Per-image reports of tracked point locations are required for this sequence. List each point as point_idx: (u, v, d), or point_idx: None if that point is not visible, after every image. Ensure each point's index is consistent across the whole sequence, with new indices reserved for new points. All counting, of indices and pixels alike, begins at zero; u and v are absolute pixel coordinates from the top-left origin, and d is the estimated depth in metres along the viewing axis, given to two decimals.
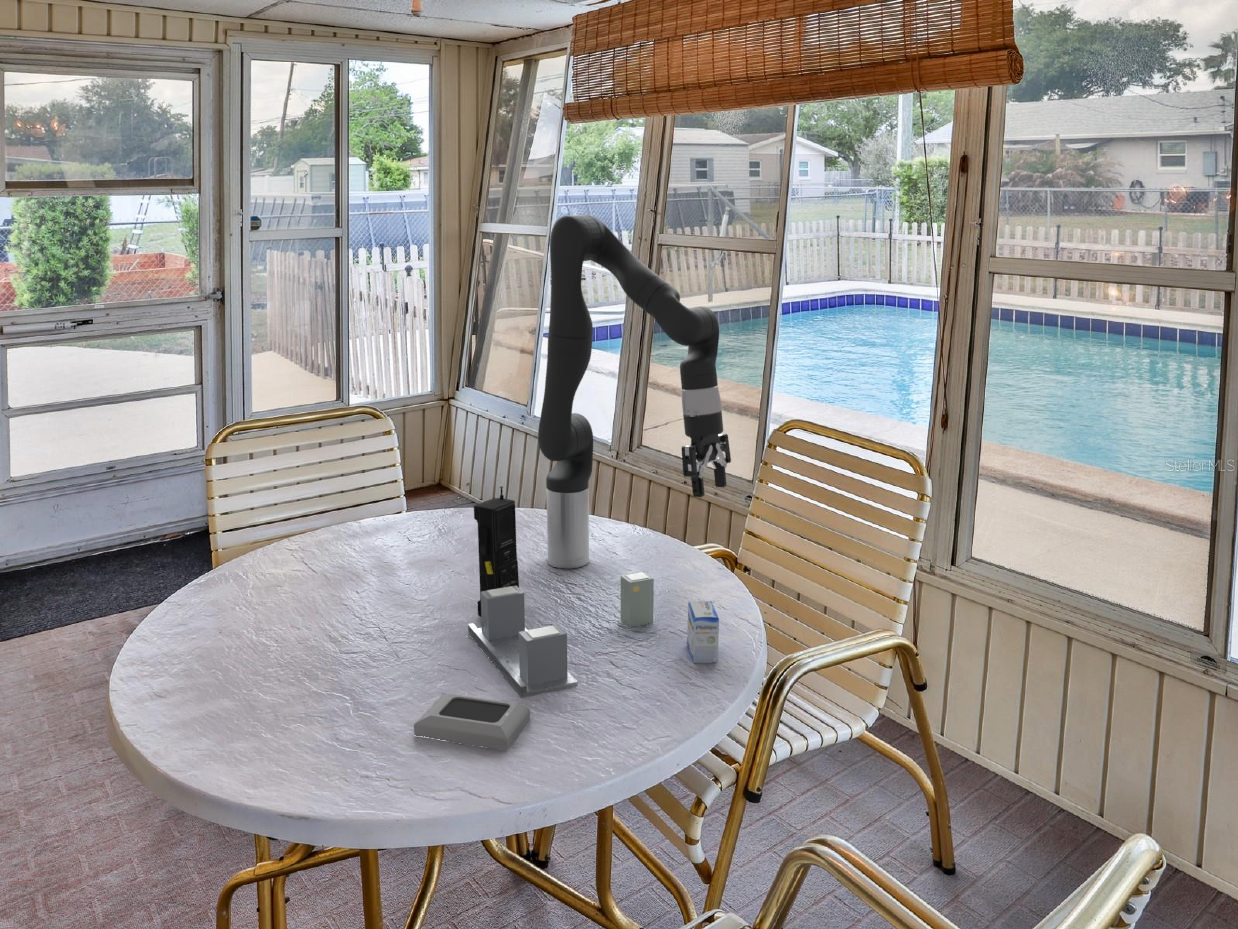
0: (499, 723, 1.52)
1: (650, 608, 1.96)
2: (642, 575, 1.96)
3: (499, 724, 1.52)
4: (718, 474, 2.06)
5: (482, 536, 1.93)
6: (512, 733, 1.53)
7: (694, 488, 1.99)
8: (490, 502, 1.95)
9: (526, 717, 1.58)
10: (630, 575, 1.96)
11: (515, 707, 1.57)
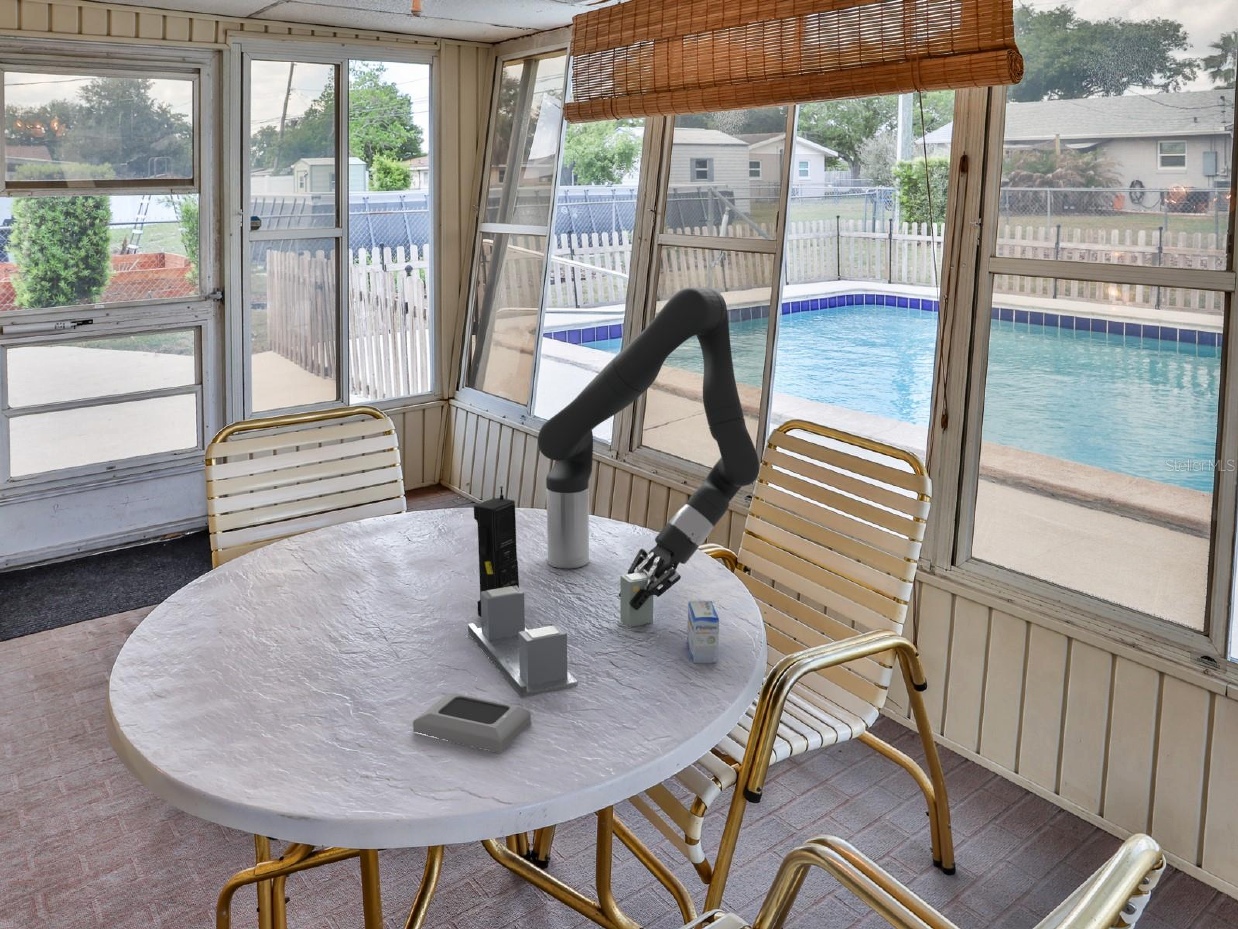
0: (495, 725, 1.52)
1: (650, 608, 1.96)
2: (642, 575, 1.96)
3: (494, 725, 1.52)
4: None
5: (482, 536, 1.93)
6: (507, 735, 1.52)
7: (640, 601, 1.93)
8: (490, 502, 1.95)
9: (525, 720, 1.57)
10: (630, 575, 1.96)
11: (514, 710, 1.56)
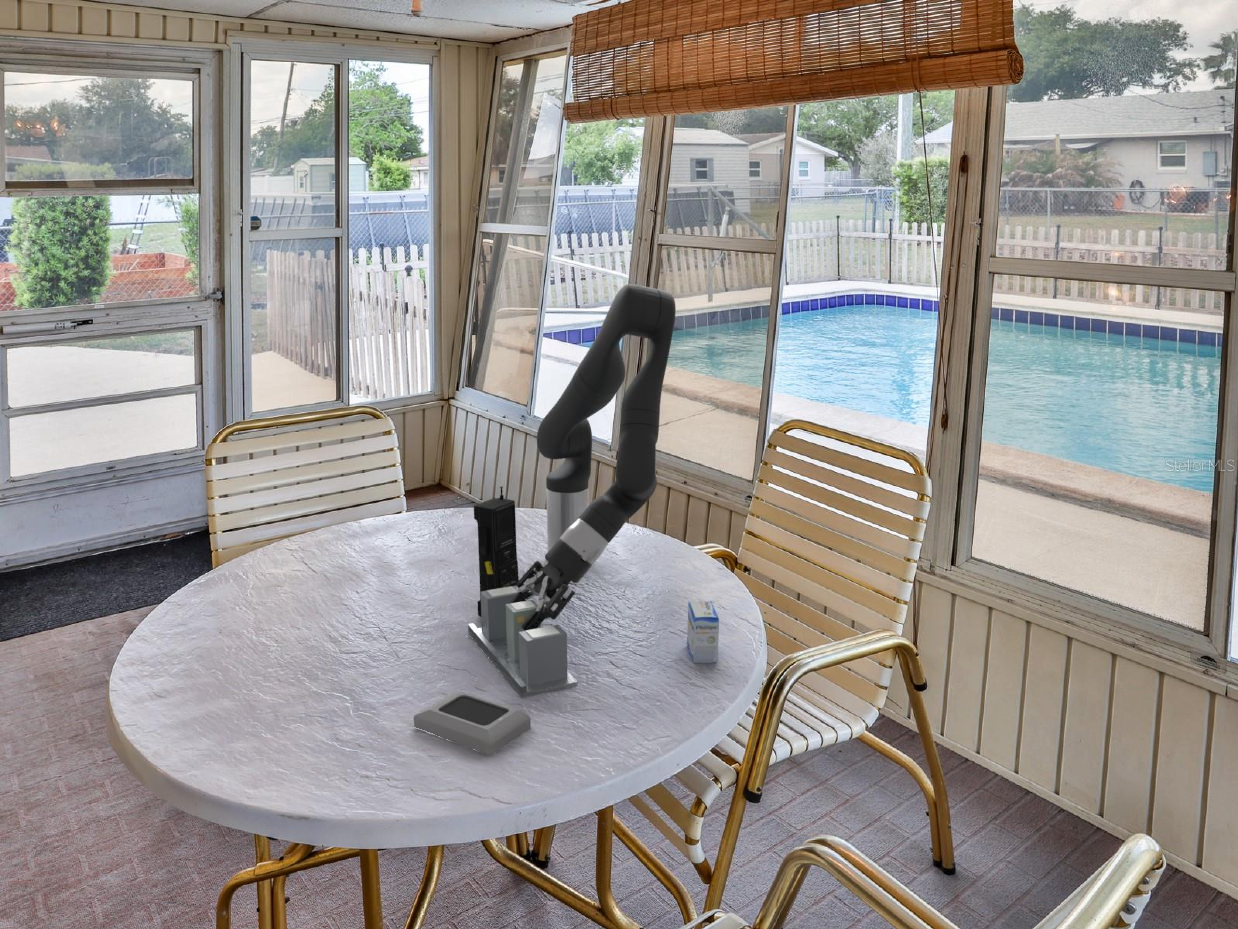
0: (488, 727, 1.51)
1: None
2: (529, 604, 1.79)
3: (487, 727, 1.51)
4: None
5: (482, 536, 1.93)
6: (499, 738, 1.51)
7: (534, 624, 1.75)
8: (490, 502, 1.95)
9: (523, 725, 1.56)
10: (516, 604, 1.79)
11: (512, 713, 1.55)
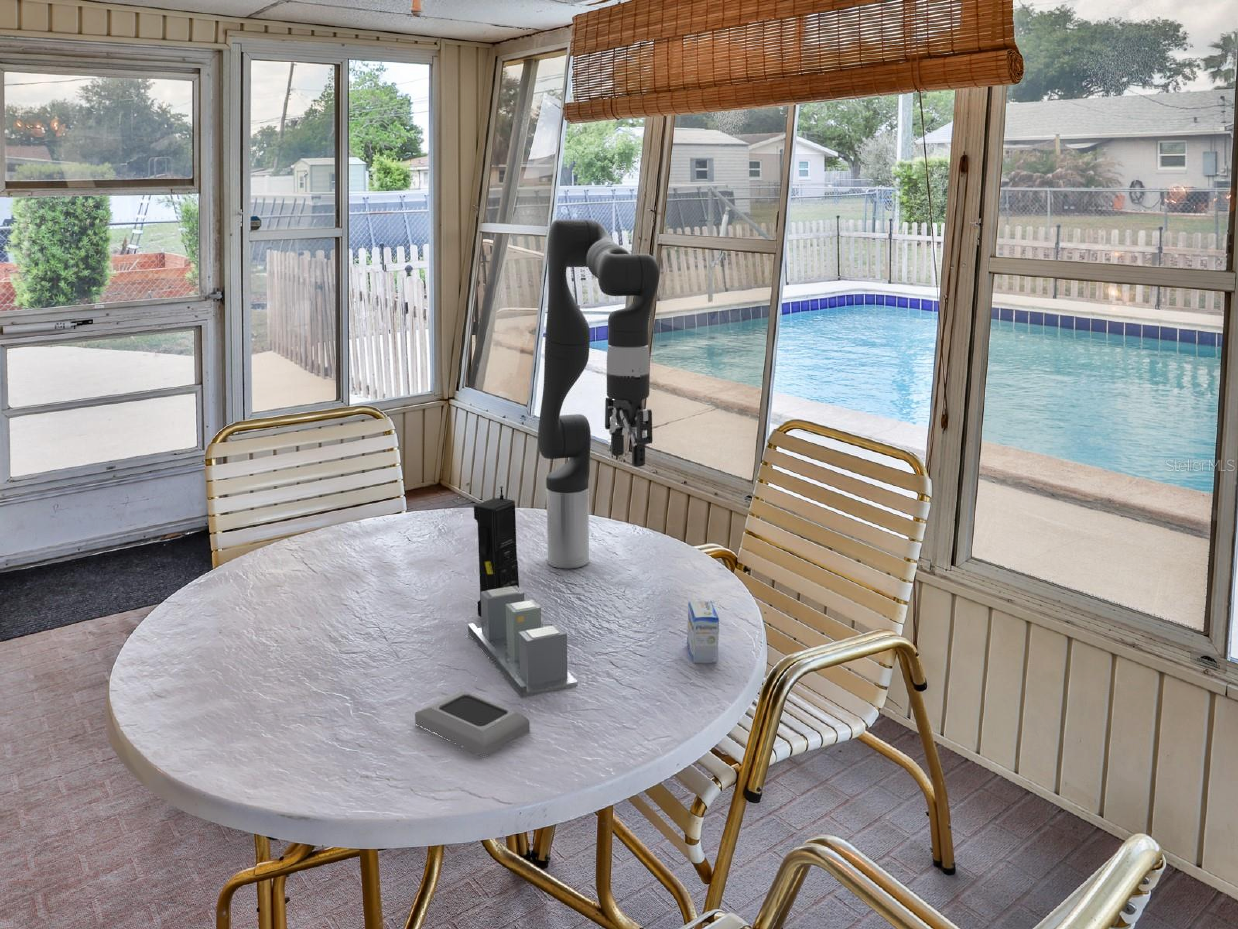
0: (483, 728, 1.51)
1: None
2: (529, 604, 1.79)
3: (483, 728, 1.51)
4: (617, 441, 1.87)
5: (482, 536, 1.93)
6: (494, 740, 1.51)
7: (640, 457, 1.79)
8: (490, 502, 1.95)
9: (521, 728, 1.55)
10: (516, 604, 1.79)
11: (510, 715, 1.55)
